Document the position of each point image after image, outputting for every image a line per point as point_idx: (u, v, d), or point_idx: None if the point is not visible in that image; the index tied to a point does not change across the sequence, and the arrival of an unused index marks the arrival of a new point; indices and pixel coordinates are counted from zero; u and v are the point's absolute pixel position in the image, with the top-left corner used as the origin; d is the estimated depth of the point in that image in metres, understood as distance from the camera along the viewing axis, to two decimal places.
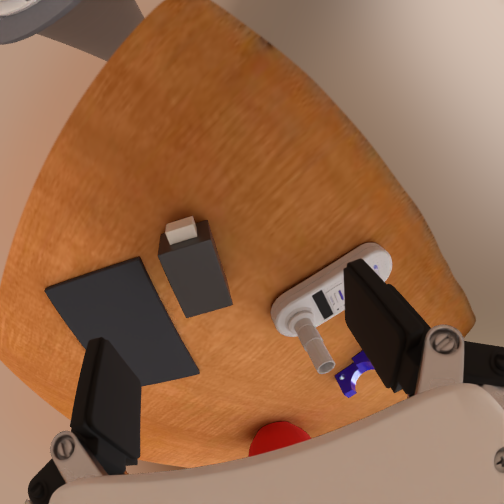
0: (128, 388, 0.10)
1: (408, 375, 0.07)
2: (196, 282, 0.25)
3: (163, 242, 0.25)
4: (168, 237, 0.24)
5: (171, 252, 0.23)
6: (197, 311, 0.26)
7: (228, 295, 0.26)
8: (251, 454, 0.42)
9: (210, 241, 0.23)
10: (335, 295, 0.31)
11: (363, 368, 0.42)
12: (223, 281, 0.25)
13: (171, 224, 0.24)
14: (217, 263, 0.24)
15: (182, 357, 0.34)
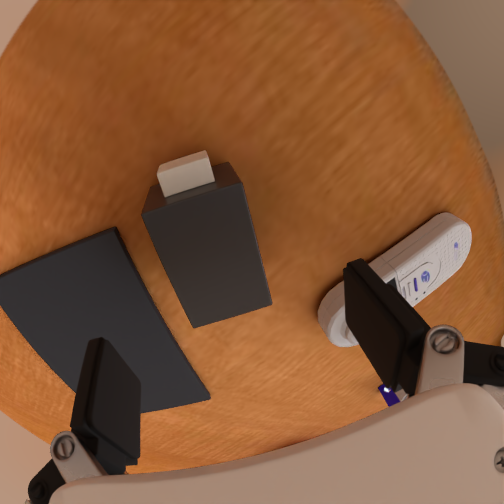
0: (128, 388, 0.10)
1: (408, 375, 0.07)
2: (212, 266, 0.14)
3: (153, 195, 0.14)
4: (162, 182, 0.13)
5: (166, 208, 0.12)
6: (212, 317, 0.15)
7: (266, 288, 0.15)
8: None
9: (241, 186, 0.12)
10: (409, 285, 0.20)
11: None
12: (260, 263, 0.14)
13: (169, 163, 0.13)
14: (251, 229, 0.13)
15: (186, 380, 0.23)
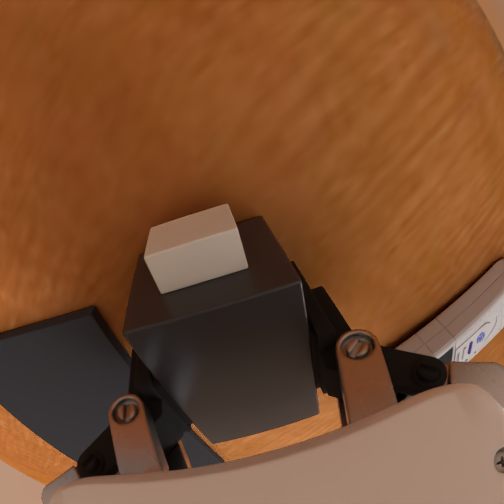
0: None
1: (326, 377, 0.08)
2: (243, 390, 0.08)
3: (143, 282, 0.08)
4: (155, 272, 0.07)
5: (164, 326, 0.07)
6: (238, 434, 0.10)
7: (315, 401, 0.10)
8: None
9: (299, 287, 0.07)
10: (464, 350, 0.14)
11: None
12: (312, 379, 0.09)
13: (165, 229, 0.08)
14: (307, 344, 0.08)
15: (198, 454, 0.17)
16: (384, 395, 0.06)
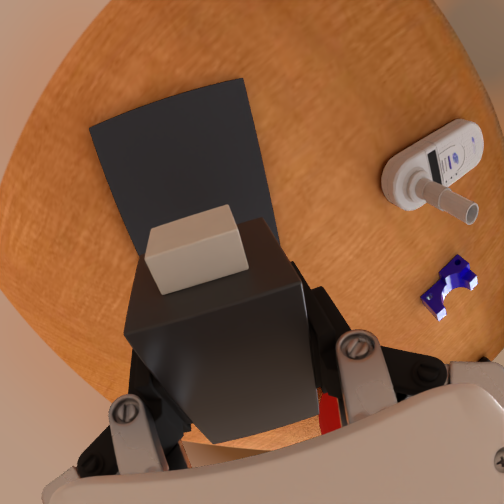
0: None
1: (326, 377, 0.08)
2: (244, 391, 0.08)
3: (143, 282, 0.08)
4: (155, 273, 0.07)
5: (165, 327, 0.07)
6: (238, 435, 0.10)
7: (316, 401, 0.10)
8: (326, 410, 0.35)
9: (300, 288, 0.07)
10: (445, 160, 0.23)
11: (450, 285, 0.34)
12: (313, 380, 0.09)
13: (166, 231, 0.08)
14: (308, 345, 0.08)
15: None
16: (384, 395, 0.06)
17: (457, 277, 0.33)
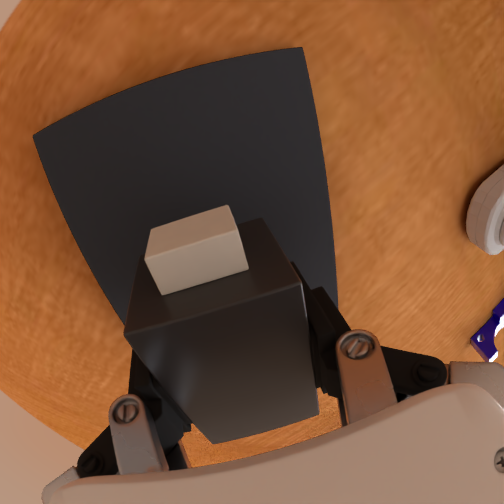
0: None
1: (326, 377, 0.08)
2: (244, 391, 0.08)
3: (143, 283, 0.08)
4: (155, 273, 0.07)
5: (165, 327, 0.07)
6: (238, 435, 0.10)
7: (315, 402, 0.10)
8: None
9: (299, 288, 0.07)
10: None
11: (502, 324, 0.25)
12: (312, 380, 0.09)
13: (166, 231, 0.08)
14: (307, 345, 0.08)
15: None
16: (384, 395, 0.06)
17: None
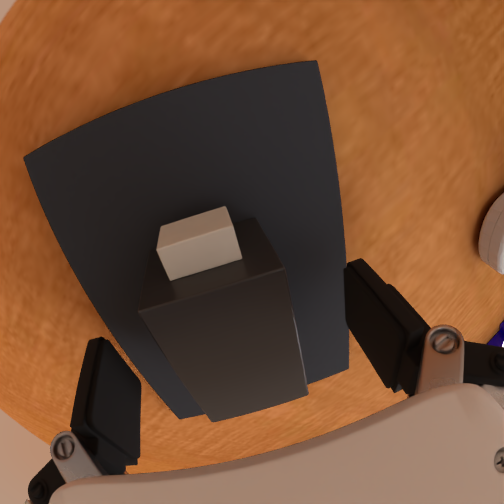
0: (128, 388, 0.10)
1: (408, 375, 0.07)
2: (239, 367, 0.10)
3: (154, 272, 0.10)
4: (165, 261, 0.09)
5: (173, 305, 0.08)
6: (235, 412, 0.11)
7: (304, 381, 0.11)
8: None
9: (283, 273, 0.09)
10: None
11: None
12: (300, 359, 0.10)
13: (173, 228, 0.10)
14: (293, 324, 0.10)
15: (336, 337, 0.16)
16: None
17: None
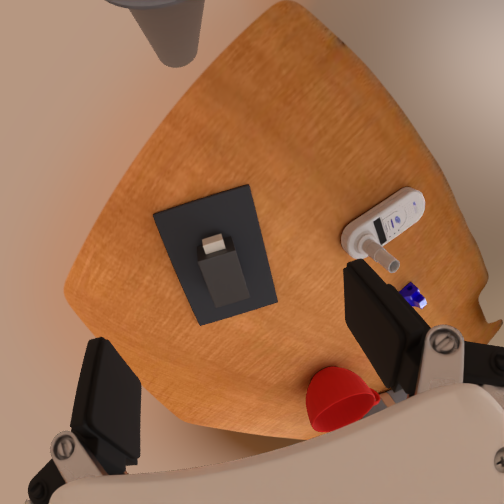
0: (128, 388, 0.10)
1: (408, 375, 0.07)
2: (224, 281, 0.35)
3: (200, 252, 0.35)
4: (205, 249, 0.34)
5: (207, 259, 0.34)
6: (224, 302, 0.37)
7: (247, 290, 0.37)
8: (310, 396, 0.49)
9: (235, 251, 0.34)
10: (388, 223, 0.39)
11: None
12: (243, 280, 0.36)
13: (206, 240, 0.35)
14: (239, 267, 0.35)
15: (267, 283, 0.42)
16: None
17: (409, 299, 0.48)
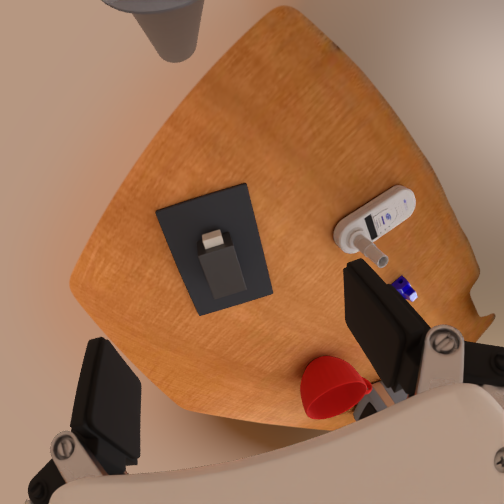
0: (128, 388, 0.10)
1: (408, 375, 0.07)
2: (223, 274, 0.38)
3: (200, 247, 0.38)
4: (204, 244, 0.36)
5: (207, 254, 0.36)
6: (222, 294, 0.39)
7: (244, 282, 0.39)
8: (304, 384, 0.53)
9: (233, 246, 0.36)
10: (379, 220, 0.41)
11: None
12: (240, 273, 0.38)
13: (206, 235, 0.37)
14: (237, 261, 0.37)
15: (263, 276, 0.44)
16: None
17: (400, 292, 0.51)
